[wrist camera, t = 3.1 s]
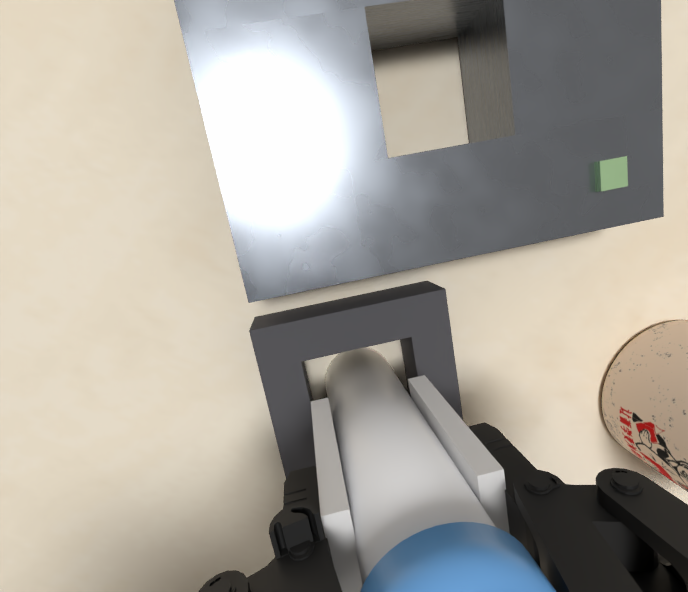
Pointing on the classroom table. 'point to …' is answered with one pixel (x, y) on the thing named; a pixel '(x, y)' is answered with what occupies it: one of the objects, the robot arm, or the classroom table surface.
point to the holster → (344, 335)
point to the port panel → (430, 166)
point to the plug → (413, 494)
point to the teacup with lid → (652, 399)
